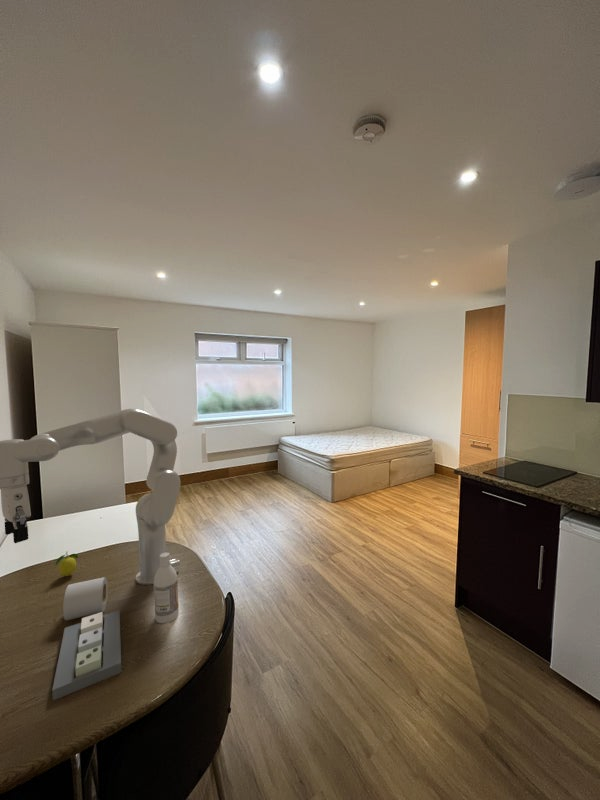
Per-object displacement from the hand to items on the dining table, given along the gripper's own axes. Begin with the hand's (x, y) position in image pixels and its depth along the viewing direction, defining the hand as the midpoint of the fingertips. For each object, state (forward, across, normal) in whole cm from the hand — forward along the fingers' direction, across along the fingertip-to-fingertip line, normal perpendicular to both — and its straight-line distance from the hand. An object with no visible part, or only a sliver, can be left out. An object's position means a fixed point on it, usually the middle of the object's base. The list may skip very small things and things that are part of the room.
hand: (16, 536), depth 97 cm
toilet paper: (+29, -9, -14) cm, 33 cm away
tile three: (+27, -35, -6) cm, 44 cm away
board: (+29, -28, -8) cm, 41 cm away
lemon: (+29, +21, -18) cm, 40 cm away
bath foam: (+29, -32, -28) cm, 52 cm away
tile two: (+27, -28, -8) cm, 40 cm away
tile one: (+27, -21, -11) cm, 36 cm away
